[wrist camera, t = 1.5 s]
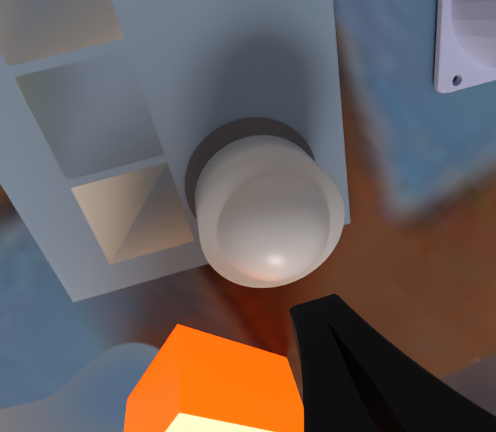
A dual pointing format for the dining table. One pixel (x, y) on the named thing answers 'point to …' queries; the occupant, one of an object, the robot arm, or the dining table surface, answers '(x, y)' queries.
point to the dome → (266, 212)
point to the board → (151, 119)
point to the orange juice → (214, 389)
